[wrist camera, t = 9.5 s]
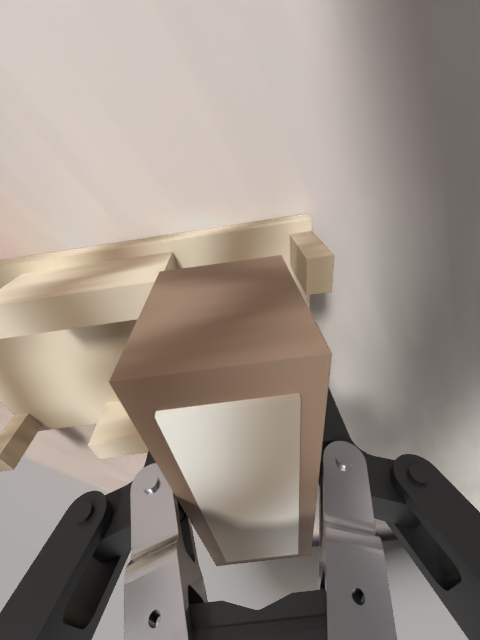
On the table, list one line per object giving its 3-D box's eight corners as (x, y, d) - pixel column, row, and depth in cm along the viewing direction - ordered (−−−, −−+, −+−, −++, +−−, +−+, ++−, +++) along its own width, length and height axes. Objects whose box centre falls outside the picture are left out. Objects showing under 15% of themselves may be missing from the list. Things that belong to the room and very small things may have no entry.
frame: (285, 254, 9) (342, 357, 5) (289, 446, 16) (315, 559, 12) (159, 271, 9) (105, 388, 5) (217, 455, 16) (216, 570, 12)
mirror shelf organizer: (306, 213, 13) (335, 241, 9) (304, 384, 19) (320, 435, 16) (-97, 275, 13) (-204, 321, 10) (39, 419, 20) (3, 475, 17)
